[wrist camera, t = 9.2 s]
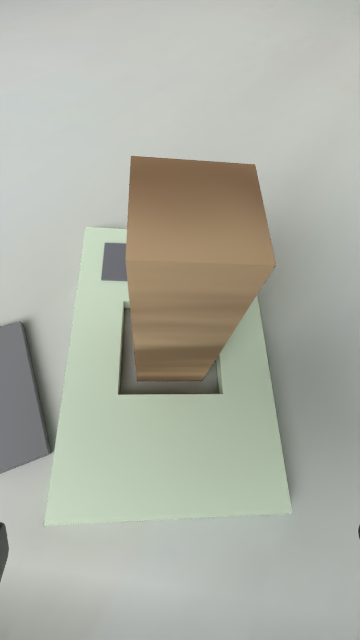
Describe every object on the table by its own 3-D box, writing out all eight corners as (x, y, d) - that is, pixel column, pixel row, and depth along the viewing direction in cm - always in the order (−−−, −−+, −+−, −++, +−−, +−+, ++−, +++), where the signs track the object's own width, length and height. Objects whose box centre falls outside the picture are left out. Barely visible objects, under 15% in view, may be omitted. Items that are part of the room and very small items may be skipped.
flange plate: (284, 511, 16) (294, 514, 15) (49, 522, 15) (42, 526, 14) (243, 243, 24) (248, 233, 23) (87, 236, 23) (85, 225, 22)
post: (202, 380, 19) (275, 265, 8) (136, 381, 19) (125, 260, 8) (198, 322, 21) (255, 164, 10) (138, 321, 20) (131, 155, 10)
